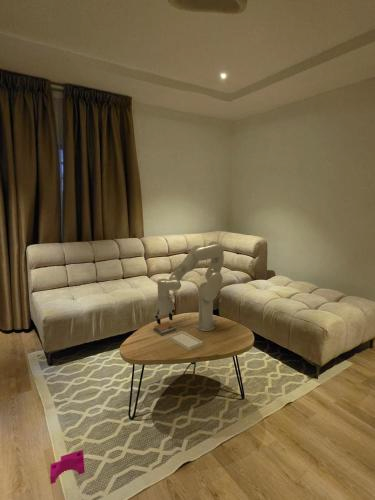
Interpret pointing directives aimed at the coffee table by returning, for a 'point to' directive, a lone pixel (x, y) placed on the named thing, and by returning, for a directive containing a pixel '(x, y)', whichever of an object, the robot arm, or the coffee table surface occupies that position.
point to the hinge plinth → (165, 331)
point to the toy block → (67, 465)
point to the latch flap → (164, 326)
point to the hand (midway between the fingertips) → (164, 321)
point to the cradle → (185, 340)
